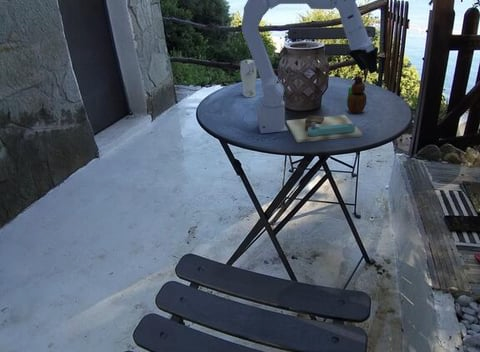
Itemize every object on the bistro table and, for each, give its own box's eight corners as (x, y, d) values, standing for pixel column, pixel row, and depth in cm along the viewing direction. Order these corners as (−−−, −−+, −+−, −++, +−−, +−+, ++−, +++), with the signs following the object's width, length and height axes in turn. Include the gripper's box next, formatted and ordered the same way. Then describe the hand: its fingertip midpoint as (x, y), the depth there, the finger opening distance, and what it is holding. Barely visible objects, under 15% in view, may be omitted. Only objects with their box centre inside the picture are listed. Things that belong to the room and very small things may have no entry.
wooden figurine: (351, 115, 138) (355, 75, 131) (343, 110, 143) (347, 71, 135) (367, 113, 139) (372, 73, 132) (359, 108, 144) (363, 69, 137)
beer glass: (239, 97, 164) (237, 63, 156) (244, 92, 169) (242, 59, 162) (255, 98, 162) (253, 63, 154) (259, 93, 167) (257, 59, 160)
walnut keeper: (320, 132, 125) (321, 121, 123) (304, 130, 127) (305, 119, 125) (323, 127, 128) (324, 116, 126) (308, 125, 130) (308, 115, 128)
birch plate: (297, 142, 121) (297, 139, 120) (286, 123, 136) (286, 120, 135) (362, 136, 122) (362, 133, 122) (344, 117, 137) (344, 115, 136)
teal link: (309, 136, 121) (309, 125, 119) (306, 132, 124) (306, 121, 122) (356, 132, 122) (357, 120, 120) (352, 128, 125) (353, 116, 123)
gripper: (377, 23, 104) (391, 67, 109) (357, 22, 117) (371, 62, 122) (354, 35, 105) (369, 78, 110) (337, 33, 118) (351, 72, 123)
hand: (368, 70), depth 116 cm, fingers open, 7 cm apart
